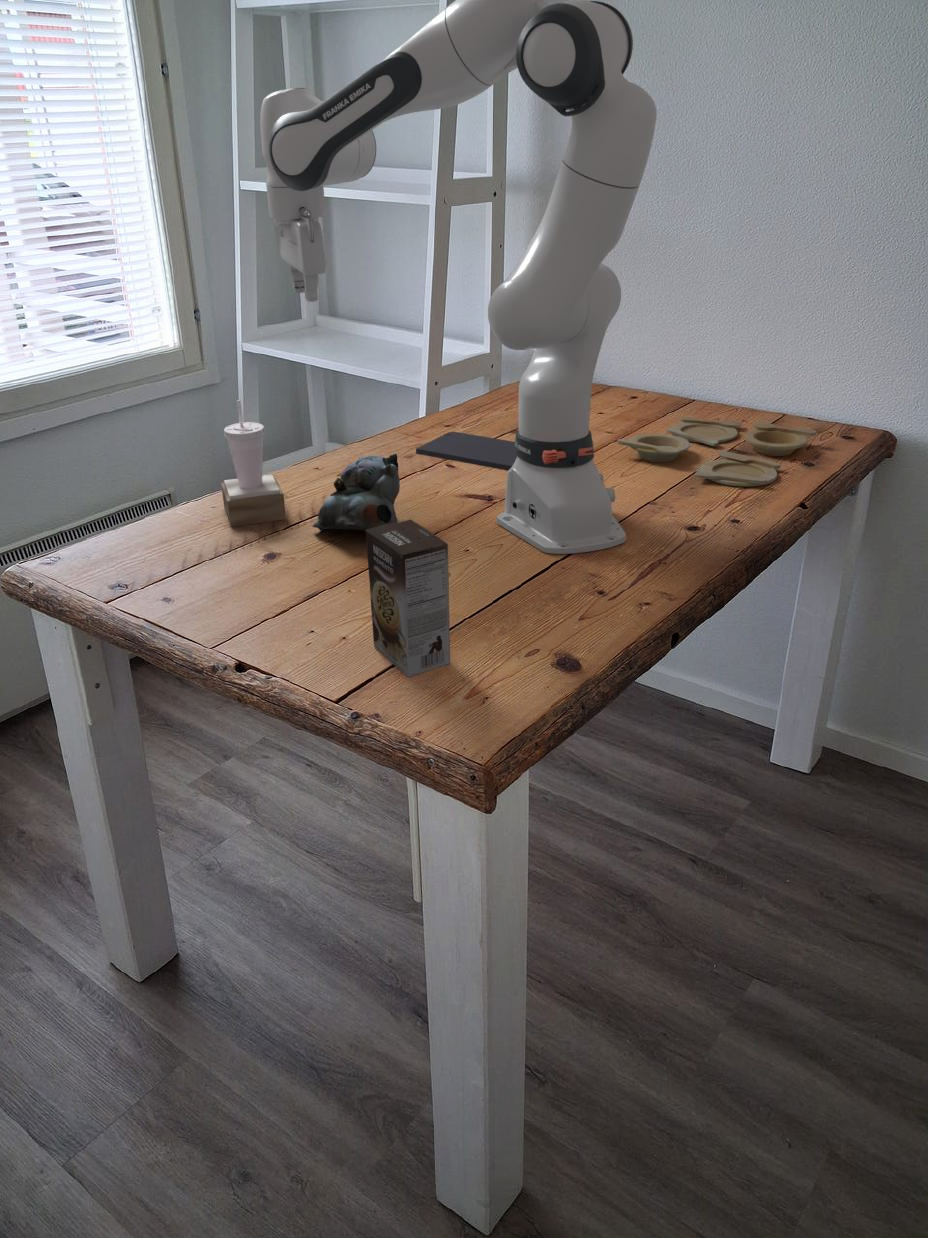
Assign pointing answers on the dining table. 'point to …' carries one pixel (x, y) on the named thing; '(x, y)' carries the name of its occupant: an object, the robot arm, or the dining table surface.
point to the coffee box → (409, 596)
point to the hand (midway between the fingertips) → (305, 296)
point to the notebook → (471, 450)
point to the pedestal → (253, 502)
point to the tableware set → (724, 470)
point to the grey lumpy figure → (362, 495)
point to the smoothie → (246, 450)
